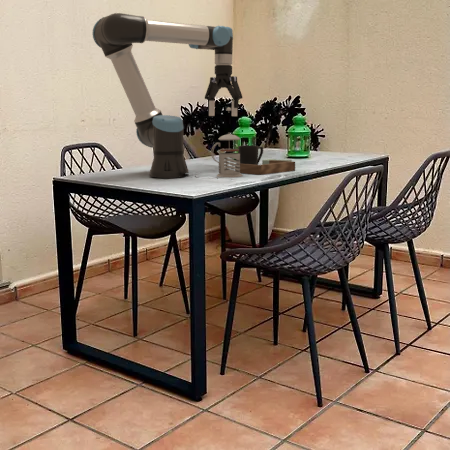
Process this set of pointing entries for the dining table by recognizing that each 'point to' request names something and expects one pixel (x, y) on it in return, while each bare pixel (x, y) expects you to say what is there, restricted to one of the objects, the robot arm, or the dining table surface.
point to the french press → (224, 170)
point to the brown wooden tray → (268, 167)
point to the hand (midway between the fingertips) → (222, 116)
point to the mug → (250, 154)
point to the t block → (271, 159)
